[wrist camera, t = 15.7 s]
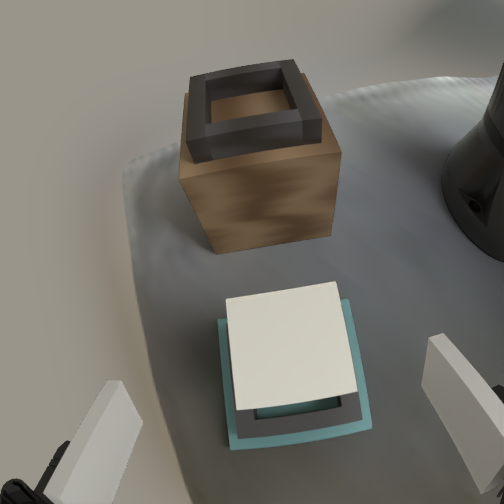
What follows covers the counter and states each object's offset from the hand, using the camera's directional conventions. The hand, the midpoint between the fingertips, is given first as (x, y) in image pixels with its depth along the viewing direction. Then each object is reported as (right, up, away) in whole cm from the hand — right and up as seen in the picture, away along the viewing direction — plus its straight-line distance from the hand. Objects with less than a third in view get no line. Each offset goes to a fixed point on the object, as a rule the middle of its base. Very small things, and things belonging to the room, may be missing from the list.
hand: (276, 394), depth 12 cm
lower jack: (+2, -3, +10) cm, 11 cm away
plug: (+2, -3, +9) cm, 10 cm away
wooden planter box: (0, +11, +18) cm, 21 cm away
